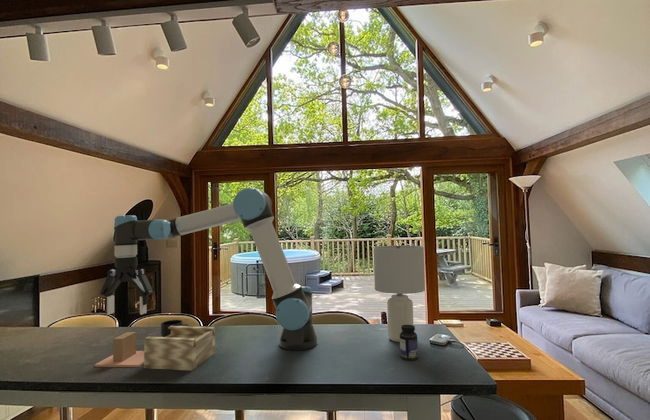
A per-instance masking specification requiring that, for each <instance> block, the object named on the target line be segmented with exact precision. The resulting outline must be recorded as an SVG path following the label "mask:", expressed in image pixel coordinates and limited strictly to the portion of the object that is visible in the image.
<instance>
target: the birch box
mask: <svg viewBox="0 0 650 420" xmlns="http://www.w3.org/2000/svg"><path fill="white" fill-rule="evenodd" d="M168 329H171V334H170V335H168V336H166V337H162V336H146V337H145V338H144V341H143V343H144V344H143V345H144V346H143V351H144V364H143V368H144V369H152V370H157V369H158V370H172V371H173V370H175V371H194V370H195V369H197V368H198V367H199V366H201V365H202V364H204V363H205V362H206V361H208V359H210V358H212V357H213V356H214V355H215V354H216V327H215V326H203V325H202V326H201V325H199V326H198V325H197V326H195V325H190V326H170V327H168Z"/></svg>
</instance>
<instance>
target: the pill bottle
mask: <svg viewBox="0 0 650 420" xmlns="http://www.w3.org/2000/svg"><path fill="white" fill-rule="evenodd" d="M413 325H414V324H413ZM413 325H402V326H401V329H402V332H401V333H400V342H399V351H400V355H399V356H400V358H401V359H403V360H406V361H415V360H417V359H418V358H419V352H418V351H419V350H418V349H419V348H418V346H419V345H418V334H417V333H416V332H415V330H416V326H415V325H414V326H413Z"/></svg>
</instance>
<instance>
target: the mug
mask: <svg viewBox="0 0 650 420" xmlns="http://www.w3.org/2000/svg"><path fill="white" fill-rule="evenodd" d="M170 326H191V324H186V323H184V322H183V320H181V319H171V320H166V321H162V322H160V337H166V336H168V335H170V334H171V329H168V327H170Z"/></svg>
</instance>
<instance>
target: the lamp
mask: <svg viewBox="0 0 650 420" xmlns="http://www.w3.org/2000/svg"><path fill="white" fill-rule="evenodd" d="M424 248H425V247H424V246H422V245H408V244H407V245H401V244H397V245H377V246H373V263H374V265H373V269H374V272H373V273H374V290H375V291H377V292H378V293H379V292H380V293H385V294H391V297H390V298H389V299H387V302H386V304H387V306H386V307H387V309H386V310H387V312H386V313H387V335H388V338H389V340H391V341H392V342H395V343H400V333H401V332H402V329H401V326H402V325H413V326H415V324H414V305H413V303H414V302H413V300H412V299H410V297H409V296H408V294H409V295H410V294H411V295H412V294H419V293H423V292H425V291H426V286H425V284H426V282H425V279H426V277H425V254H424V253H425V252H424V251H425V250H424Z"/></svg>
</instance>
